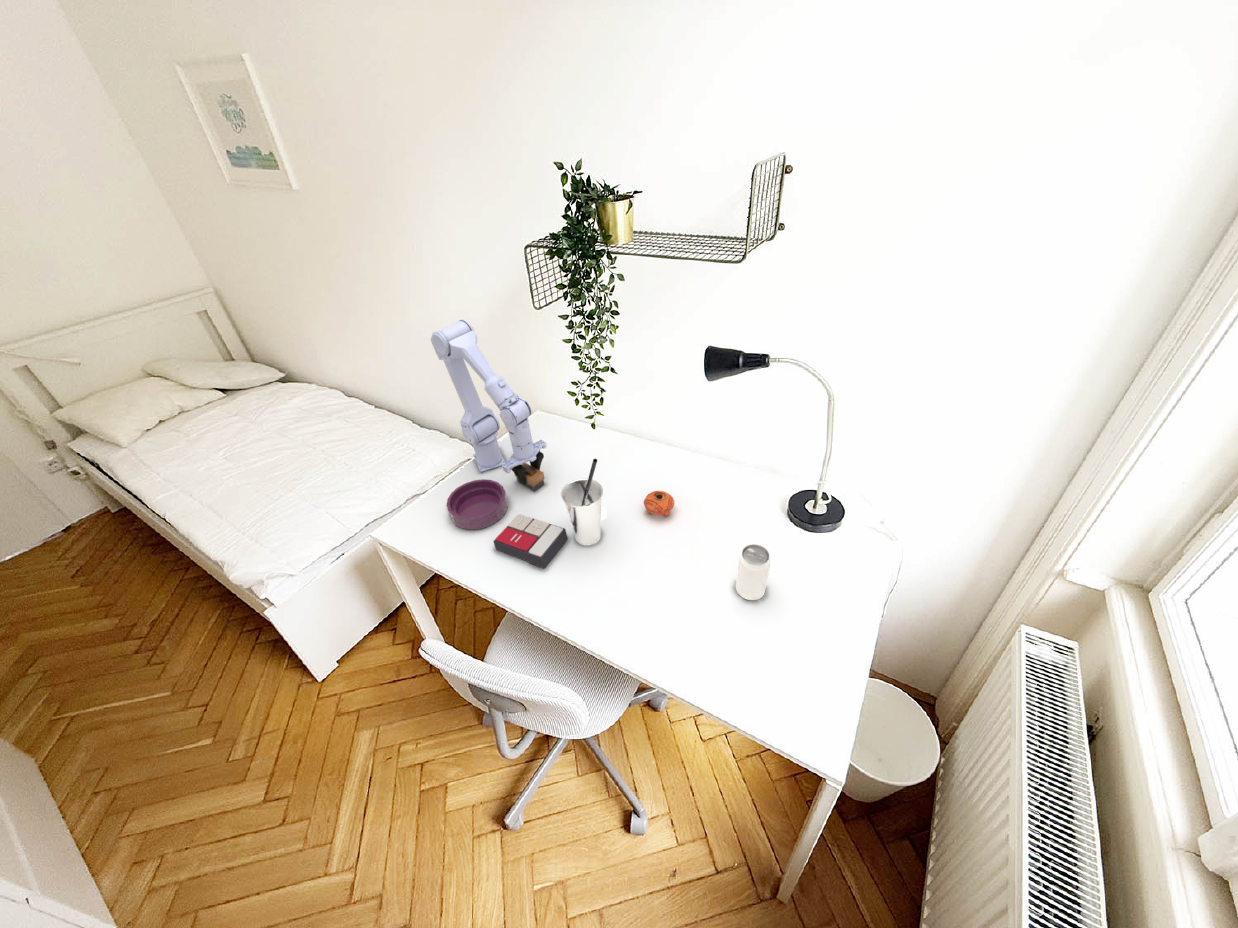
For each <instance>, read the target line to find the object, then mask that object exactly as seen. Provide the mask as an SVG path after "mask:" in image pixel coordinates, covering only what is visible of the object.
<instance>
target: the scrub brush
mask: <svg viewBox="0 0 1238 928" xmlns="http://www.w3.org/2000/svg"><path fill="white" fill-rule="evenodd" d="M521 465H522V466H523V467H524V468H526V480H527V484H526V485H524V484H522V483H520V481H519V479H518V477H517V476H516V474H515V473H514V472H513V474H514V477H515V478H516V481H517V483H519V484H521V485H522V486H524V487H526V488H527V489H529V490H531V491H532V492H534V493H535V492H537V491H538V490H540V489H541V488H542V487H543V486H545V481H544V480H545V479H546V477H545V473H544V471H542V470H541V469H540V470H538V469H536V468H534V467H533V466H531V465H530V463H528V462H525V463H523V464H521Z"/></svg>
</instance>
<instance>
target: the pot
mask: <svg viewBox="0 0 1238 928" xmlns="http://www.w3.org/2000/svg"><path fill="white" fill-rule="evenodd" d="M643 505H644V507H645V510H646V513H647V514H648V515H649V514H650V513H651V514H654V515H660V516H661V515H665V517H668V516H669V515H670V512H671V511H672V510H673V508H674V506H675V499H674V497H673V496H672V495H671V493H669V492H667V491H663V490H654V491H651V492H649V493H647V495H646V496H645V498H644V500H643Z"/></svg>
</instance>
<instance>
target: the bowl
mask: <svg viewBox="0 0 1238 928" xmlns="http://www.w3.org/2000/svg"><path fill="white" fill-rule="evenodd" d="M508 507H509V500H508V497H507V493H506V490H505V488H504V486H503V485H502V484H501V483H500V482H498V481H495V480H492V479H484V478H483V479H473V480H471V481H467V482H466V483H463V484H461V485H459V486H457V487H456V488H455V489H454V490H452V492H450V495H449V496H448V498H447V500H446V509H447V512H448V514H449V517H450V520H451V522H452V523H453V524H454V525H455V526H456V527H459V528H461V529H465V530H480V529H484V528H486V527H490V526H492V525H494V524H495V523H497V522H499V520H501V519H502V517H503V516H505V514H506V512H507V510H508Z"/></svg>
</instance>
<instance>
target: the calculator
mask: <svg viewBox="0 0 1238 928" xmlns="http://www.w3.org/2000/svg"><path fill="white" fill-rule="evenodd" d="M567 541H568V534H567V529H566V528H565V527H561V526H558V525H556V524H552V523H549V522H547V521H542V520H539V519H537V518H534V517H530V516H527V515H525V514H522V513H521V514H520V513H518V514H517V515H516V516H515V517H514V518H513V519H512V520H511V521H510V522H509V524H508V525H507V526H506V527H504V529H503V530H502V531H501V532H500V533H499V534H498V535H497V537H495V539H493V545H494V547H495V550H496V551H499V552H502V553H504V554H507V555H509V556H512V557H514V558H518V559H521V560H523V561H526V562H528V563H529V564H531V565H533V566H536V567H538V568H541V569H545V568H546V567H547V566H548V565H549V563H550V562H551V561H552V560H553V558H554V557H555V556H556V555H557V553H558V552H559V551H560V549H561V548H562V547H563V546H564V545H565V543H567Z"/></svg>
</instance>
